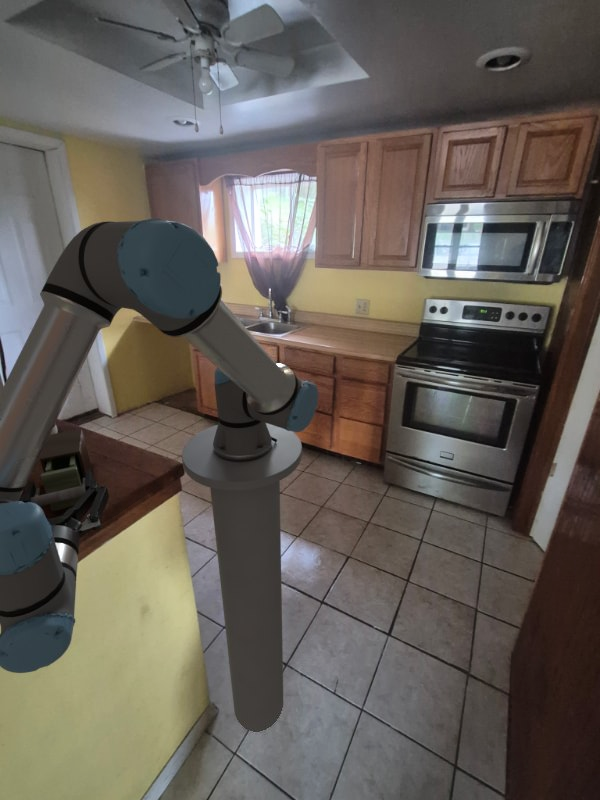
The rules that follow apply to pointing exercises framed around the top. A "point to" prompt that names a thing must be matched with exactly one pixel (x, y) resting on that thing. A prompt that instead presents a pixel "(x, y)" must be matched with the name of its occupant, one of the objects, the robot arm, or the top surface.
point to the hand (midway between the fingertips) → (61, 480)
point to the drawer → (61, 483)
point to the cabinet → (66, 448)
